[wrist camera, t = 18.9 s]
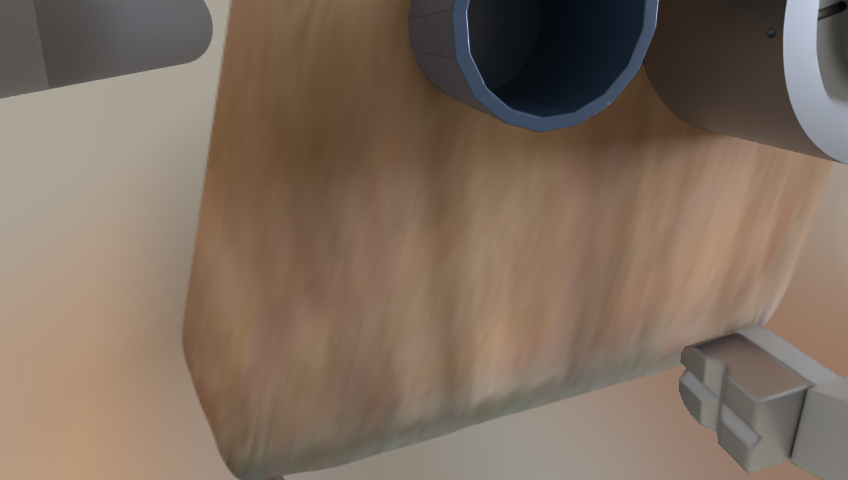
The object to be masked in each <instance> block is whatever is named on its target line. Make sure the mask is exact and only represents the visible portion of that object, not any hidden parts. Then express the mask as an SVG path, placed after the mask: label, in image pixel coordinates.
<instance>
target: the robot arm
mask: <svg viewBox="0 0 848 480" xmlns="http://www.w3.org/2000/svg"><path fill="white" fill-rule="evenodd" d="M680 362H681V363H682V364H683V365H684V366H685V367H686V370H685V371H684V373H683V374H682V376H681V377H680V378H679V392H680V394H681V397H682V400H683V402H684V405H685V406H686V408H687V409H688V411H689V412H690V414H691V415H692V416H693V417H694V418H695V419H696V420H697V421H698V423H699V424H700V425H702V426H705V427H707V428H709V429H712V430H714V431H716V432H717V437H718V443H719V445H720V446H721V447H722V448H723V449H724V450H725V451H726V452H727V453H728V454H729V455H730V456H731V457H732V458H733V459H734V460H735V461H736V462H737V463H738V464H739V465H740V466H741V467H742V468H743V469H744V470H745V471H746V472H747V473H749V472H753V471H756V470H759V469H762V468H765V467H768V466H772V465H775V464H778V463H782V462H785V461H788V460H791V461H790V463H792V464H794V465H796V466H798V467H800V468H802V469H804V470H806V471H808V472H809V473H811V474H814V475H815V476H817V477H819V478H821V479H823V480H848V376H844V377H840V376H838V375H837V374H835V373H834V372H832V371H831V370H829V369H828V368H826V367H825V366H823V365H821V364H820V363H818V362H817V361H815V360H814V359H812V358H811V357H809V356H808V355H806V354H805V353H803V352H802V351H800V350H799V349H797V348H796V347H794V346H793V345H791V344H790V343H788V342H786V341H785V340H784V339H782V338H781V337H779V336H778V335H776V334H775V333H773V332H772V331H770V330H768V329H767V328H765V327H763V326H760V325H756V324H754V325H751V326H748V327H745V328H742V329H739V330H736V331H732V332H730V333H725V334H722V335H719V336H716V337H713V338H710V339H707V340H704V341H701V342H698V343H695V344H692V345H689V346H686V347H685V348H684V349H683V351H682V352H681V361H680ZM265 480H284V478H283V476H276V477H272V478H269V479H265Z"/></svg>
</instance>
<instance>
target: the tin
mask: <svg viewBox="0 0 848 480" xmlns="http://www.w3.org/2000/svg"><path fill="white" fill-rule="evenodd" d="M657 10H658V0H412V2H411V7H410V13H409V36H410V41H411V46H412V50H413V53H414V56H415V58H416V60H417V62H418V65H419V66H420V68H421V70H422V71H423V73H424V74H425V76H426V78H427V79H428V80H430V81H431V82H432V83H433V84H434V85H435V86H436V87H438V88H439V89H440V90H442V91H443V92H444V93H445V94H447V95H448V96H450V97H452V98H454V99H456V100H458V101H460V102H462V103H465V104H467V105H469V106H471V107H473V108H475V109H477V110H479V111H481V112H483V113H485V114H487V115H489V116H491V117H493V118H495V119H497V120H499V121H501V122H504V123H506V124H510V125H514V126H517V127H521V128H525V129H529V130H532V131H536V132H544V131H550V130H555V129H561V128H567V127H573V126H576V125H578V124H580V123H582V122H583V121H585V120H587V119H588V118H590V117H592V116H593V115H595V114H596V113H598V112H600V111H601V110H603V109H605V108H606V107H608V106H609V105H610V104H611V103H612V102H613V101H614V100H615V99H616V97H617V96H618V95H619V94H620V93H621V91H622V90H623V89H624V88H625V87H626V85H627V84H628V83H629V82H630V81H631V79H632V78H633V77H634V76H635V75H636V73H637V71H638V70H639V68H640V66H641V63H642V61H643V59H644V56H645V54H646V51H647V49H648V47H649V44H650V42H651V39H652V37H653V35H654V32H655V28H656V21H657Z"/></svg>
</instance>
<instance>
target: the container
mask: <svg viewBox="0 0 848 480" xmlns="http://www.w3.org/2000/svg"><path fill="white" fill-rule="evenodd" d="M644 63H645V67H646V70H647V73H648V75H649V78H650V80H651V82H652V84H653V86H654V88H655V90H656V92H657V93H658V95H659V96H660V98H661V99H662V101H663V102H664V103H665V104H666V105H667V106H668V108H669V109H670V110H671V111H673V112H674V113H675V114H676V115H677V116H678V117H680V118H681V119H683V120H684V121H686V122H688V123H689V124H691V125H693V126H696V127H698V128H701V129H705V130H708V131H713V132H717V133H721V134H725V135H729V136H733V137H737V138H741V139H745V140H749V141H753V142H757V143H761V144H766V145H770V146H774V147H778V148H782V149H786V150H790V151H794V152H798V153H802V154H806V155H810V156H814V157H819V158H823V159H827V160H831V161H835V162H839V163H843V164H847V165H848V0H658V10H657V21H656V28H655V32H654V35H653V37H652V39H651V42H650V44H649V47H648V49H647V51H646V54H645V56H644Z"/></svg>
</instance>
